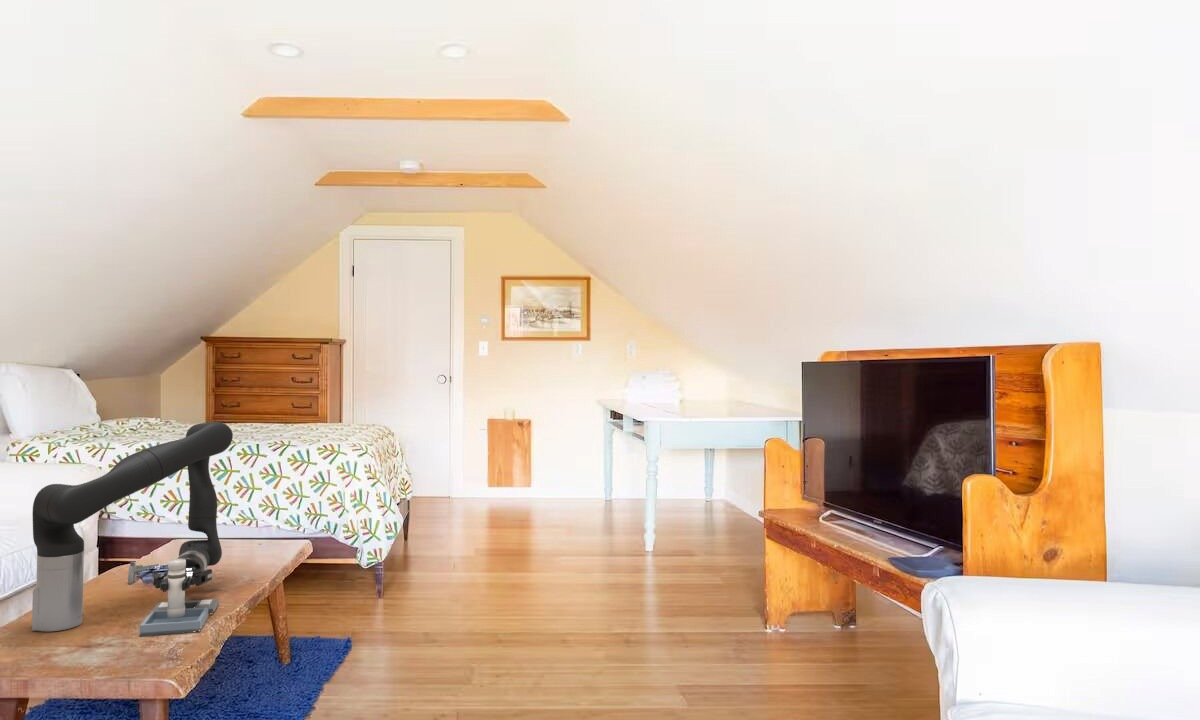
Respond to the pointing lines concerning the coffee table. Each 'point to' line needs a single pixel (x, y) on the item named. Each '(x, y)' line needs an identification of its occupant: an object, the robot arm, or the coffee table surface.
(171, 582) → the fuse
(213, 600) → the block
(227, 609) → the coffee table surface
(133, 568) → the caliper
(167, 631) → the parts tray
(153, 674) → the coffee table surface
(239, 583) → the coffee table surface
